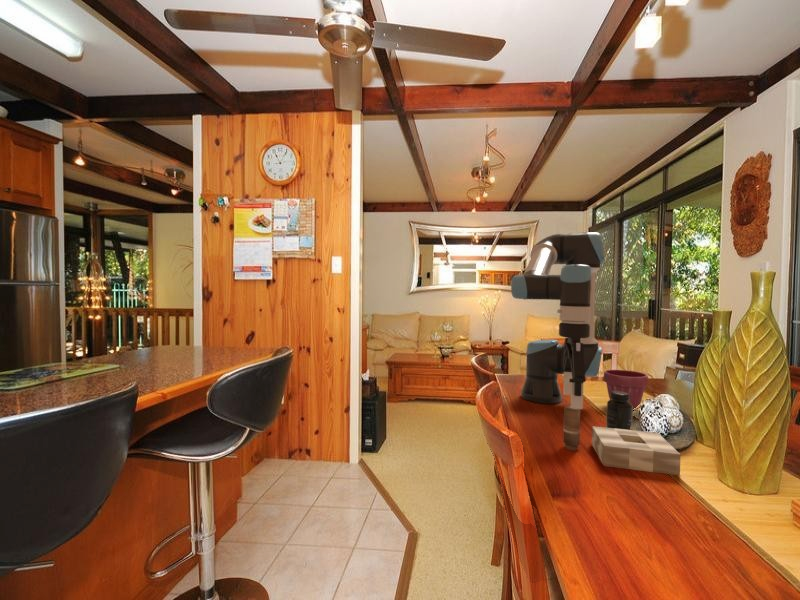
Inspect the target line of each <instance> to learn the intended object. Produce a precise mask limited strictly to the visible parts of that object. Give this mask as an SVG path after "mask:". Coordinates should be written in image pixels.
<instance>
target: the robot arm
mask: <svg viewBox="0 0 800 600" xmlns="http://www.w3.org/2000/svg"><path fill="white" fill-rule="evenodd" d="M603 243H604V242H603V237H602V234H601V233H599V232H595V231H594V232H588V231H586V232H572V233H571V232H569V233H556V234H551V235H549V236H546V237H545V238H543V239H541V240H539V241H538V242H536V244H535V245H534V246H533V247H532V248H531V250H530V255H529V256H530V258H529V259H530V260H529V262H528V264H527V266H526V268H525V270H524V273H522V274H517V275H516V274H515V275H513V277H512V279H511V283H510V284H511V286H510V289H511V290H510V292H511V295H512V297H513V299H517V300H518V299H519V300H525V301H526V300H550V301H551V300H555V301H559V309H557V312H556V313H558V314H559V321H561V322H560V323H559V324H558V335H559V336H560V337H563V338H564V342H563V343H560V342H559V340H558V339H539V340H538V339H537V340H533V341H532V340H531V341H529V342H528V343H527V344H526V345H527V346H526V353H525V355H526V370H525V371H526V373H525V375H526V377H525V381H524V383H523V385H522V389H521V391H520V397H521V398H522V399H524V400H525V401H529V402H533V403H538V404H558V403H559V404H560V403H561V402H562V401H563V399H562V398H563V396H564V395H565V396H570V406H571V408H578V409H580V410H584V383H585V382H586V380H587V379H586V378H595V377H597V376H598V374H599V370H600V368H601V367H600V365H601V360H602V354H603V347H602V346H600V345H599V341H598V340H597V339H596V338H595V307H596V306H595V303H596V302H595V299H596V298H595V297H596V273H597V272H598V271H599V270H600V269H601V265H603V264H605V261H606V260H605V252H604V250H605V249H604V244H603ZM553 265H563V266H562V267H561V268H560V274H550V272H551V269H552V266H553ZM558 375H563V386H562V387H563V391H561V388H560V384H559V381H558ZM562 393H563V396H562Z"/></svg>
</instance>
